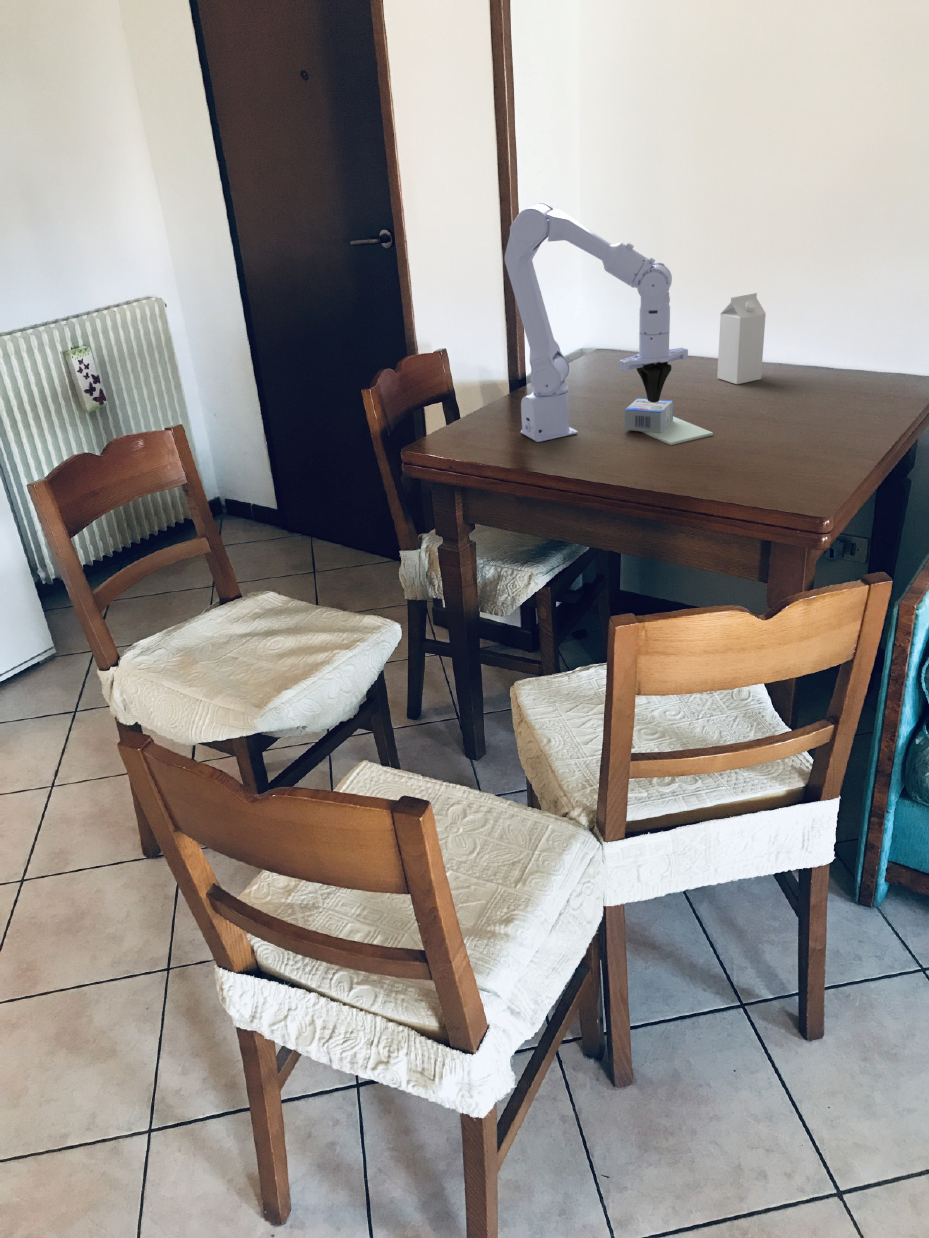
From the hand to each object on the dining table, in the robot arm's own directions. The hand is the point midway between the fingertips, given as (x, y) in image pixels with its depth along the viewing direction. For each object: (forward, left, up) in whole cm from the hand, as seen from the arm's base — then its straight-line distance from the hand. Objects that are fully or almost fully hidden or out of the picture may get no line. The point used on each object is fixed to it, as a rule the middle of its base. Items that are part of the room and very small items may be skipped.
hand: (653, 401), depth 190 cm
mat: (+4, 0, -7) cm, 8 cm away
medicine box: (-2, +1, -4) cm, 5 cm away
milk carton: (+38, +22, -7) cm, 44 cm away
